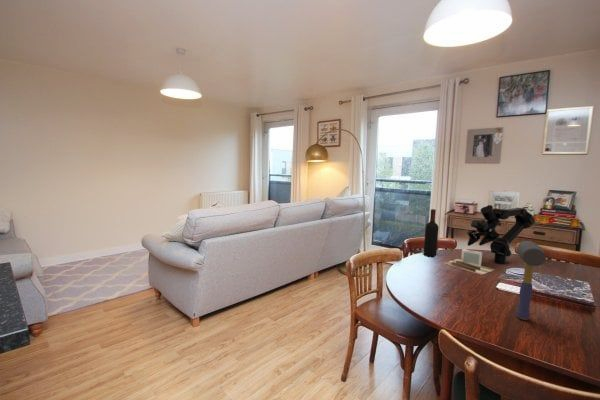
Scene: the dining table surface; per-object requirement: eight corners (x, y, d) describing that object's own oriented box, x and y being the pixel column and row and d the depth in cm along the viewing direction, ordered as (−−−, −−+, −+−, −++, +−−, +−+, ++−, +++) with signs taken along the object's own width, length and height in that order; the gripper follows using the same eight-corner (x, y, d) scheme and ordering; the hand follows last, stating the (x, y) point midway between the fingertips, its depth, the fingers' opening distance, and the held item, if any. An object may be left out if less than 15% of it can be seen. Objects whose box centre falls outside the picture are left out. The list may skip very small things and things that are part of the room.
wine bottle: (420, 254, 191) (424, 208, 187) (429, 253, 195) (432, 208, 191) (430, 258, 185) (433, 210, 181) (439, 256, 188) (442, 210, 184)
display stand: (458, 260, 181) (458, 256, 181) (495, 271, 164) (495, 266, 163) (443, 264, 173) (444, 260, 173) (480, 276, 156) (481, 272, 155)
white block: (460, 263, 173) (461, 250, 172) (461, 261, 175) (462, 248, 174) (480, 267, 167) (481, 253, 166) (481, 265, 169) (482, 252, 168)
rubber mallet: (538, 329, 107) (549, 249, 103) (513, 323, 110) (522, 246, 106) (531, 313, 118) (540, 240, 114) (508, 309, 121) (516, 238, 117)
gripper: (468, 217, 177) (452, 235, 174) (491, 213, 159) (474, 234, 155) (482, 230, 176) (466, 249, 173) (506, 228, 158) (490, 249, 155)
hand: (473, 245), depth 164 cm, fingers open, 9 cm apart
